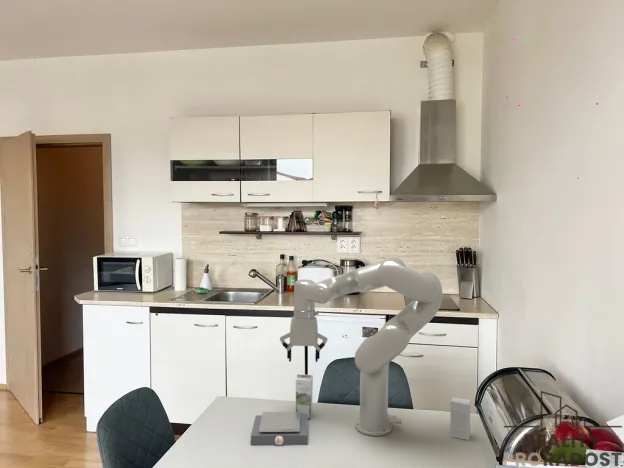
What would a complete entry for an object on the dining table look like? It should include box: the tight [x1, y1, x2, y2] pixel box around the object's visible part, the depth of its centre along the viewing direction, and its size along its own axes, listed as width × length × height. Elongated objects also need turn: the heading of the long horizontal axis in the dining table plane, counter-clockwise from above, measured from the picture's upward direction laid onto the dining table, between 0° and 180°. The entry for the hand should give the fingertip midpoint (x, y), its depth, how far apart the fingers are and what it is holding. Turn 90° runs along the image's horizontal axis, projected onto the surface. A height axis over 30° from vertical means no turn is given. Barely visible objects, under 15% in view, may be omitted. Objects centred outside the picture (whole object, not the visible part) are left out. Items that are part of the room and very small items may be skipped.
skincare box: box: [449, 396, 471, 441], centre depth 145 cm, size 6×4×12 cm
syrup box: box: [295, 373, 314, 420], centre depth 159 cm, size 6×6×14 cm
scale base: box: [250, 414, 308, 446], centre depth 145 cm, size 18×15×3 cm
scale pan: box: [259, 411, 300, 432], centre depth 146 cm, size 13×12×1 cm
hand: (303, 360), depth 158 cm, fingers open, 9 cm apart
